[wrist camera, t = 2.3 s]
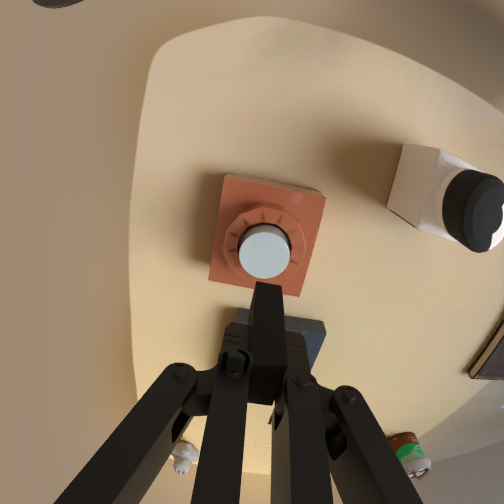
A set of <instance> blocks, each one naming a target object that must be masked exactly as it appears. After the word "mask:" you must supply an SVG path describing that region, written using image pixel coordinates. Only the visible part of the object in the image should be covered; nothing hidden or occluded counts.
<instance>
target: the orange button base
mask: <svg viewBox="0 0 504 504" xmlns="http://www.w3.org/2000/svg"><path fill="white" fill-rule="evenodd" d="M326 199H327V198H326V197H325V196H324V195H323V194H322V193H321V192H320V191H316V190H312V189H307V188H303V187H298V186H294V185H289V184H284V183H280V182H275V181H270V180H265V179H260V178H254V177H249V176H244V175H238V174H232V173H228V174H227V175H226V176H225V177H224V180H223V186H222V192H221V198H220V204H219V210H218V217H217V223H216V230H215V236H214V243H213V250H212V257H211V264H210V272H209V279H208V280H210V281H215V282H220V283H225V284H230V285H236V286H241V287H246V288H252V289H255V284H256V281H259V282H264V283H270V284H275V285H281V286H282V294H285V295H291V296H297V297H299V296H300V293H301V290H302V286H303V283H304V279H305V276H306V273H307V269H308V266H309V262H310V259H311V255H312V252H313V248H314V244H315V241H316V237H317V233H318V230H319V226H320V222H321V218H322V215H323V211H324V207H325V203H326ZM258 225H271V226H274V227H276V228H278V229H279V230H281V231H282V232H283V234H284V235H285V237H286V239H287V242H288V247H289V252H290V258H289V262H288V265H287V267H286V268H285V269H284V271H283V272H281V273H280V274H279V275H277V276H275V277H272V278H267V279H261V278H256V277H254V276H252V275H250V274H249V273H247V272H246V271H245V270H244V269H243V267H242V265H241V263H240V260H239V250H240V246H241V242H242V239H243V237H244V235H245V234H246V232H247V231H248V230H250V229H251V228H253V227H255V226H258Z"/></svg>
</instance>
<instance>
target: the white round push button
mask: <svg viewBox="0 0 504 504" xmlns="http://www.w3.org/2000/svg"><path fill="white" fill-rule="evenodd" d="M289 258H290V252H289V247H288V242H287V239H286V237H285V235H284V234H283V232H282V231H281V230H279V229H278V228H276V227H274V226H271V225H258V226H255V227H253V228H251V229H250V230H248V231H247V232H246V234H245V235H244V237H243V239H242V242H241V246H240V250H239V260H240V263H241V265H242V267H243V269H244V270H245V271H246V272H247V273H249V274H250V275H252V276H254V277H256V278H261V279H267V278H272V277H275V276H277V275H279V274H280V273H281V272H283V271H284V269H285V268H286V267H287V265H288V262H289Z"/></svg>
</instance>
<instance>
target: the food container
mask: <svg viewBox="0 0 504 504" xmlns="http://www.w3.org/2000/svg"><path fill="white" fill-rule="evenodd" d="M388 441H389V443H390V445H391V446H392V448H393V450H394V452H395V453H396V455H397V457H398V459H399V461H400V462H401V464H402V466H403V468H404V469H405V471H406V473H407V475H408V477H409V478H417V479H418V481H419V480H421V479H423V478H424V477H425V476H427V475H428V473H429V472H430V468H431V461H430V459H426V457H425V455H424V453H423V451H422V449H421V446H420V444H419V442H418V440H417V438H416V436H415V434H414V433H412V432H404V433H400V434H397V435H394V436H392V437H390V438H388Z"/></svg>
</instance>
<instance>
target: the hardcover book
mask: <svg viewBox="0 0 504 504" xmlns="http://www.w3.org/2000/svg"><path fill="white" fill-rule="evenodd" d="M468 375H469V377H470V378H471V379H486V380H504V319H503V321H502V323H501V324H500V326H499V327H498V329H497V331H496V332H495V334H494V335H493V337H492V338H491V340H490V341H489V343H488V344H487V346H486V347H485V348H484V350H483V351H482V353H481V354H480V356H479V357H478V358H477V360H476V361H475V362H474V364H473V365H472V366H471V368H470V369H469V371H468Z"/></svg>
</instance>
